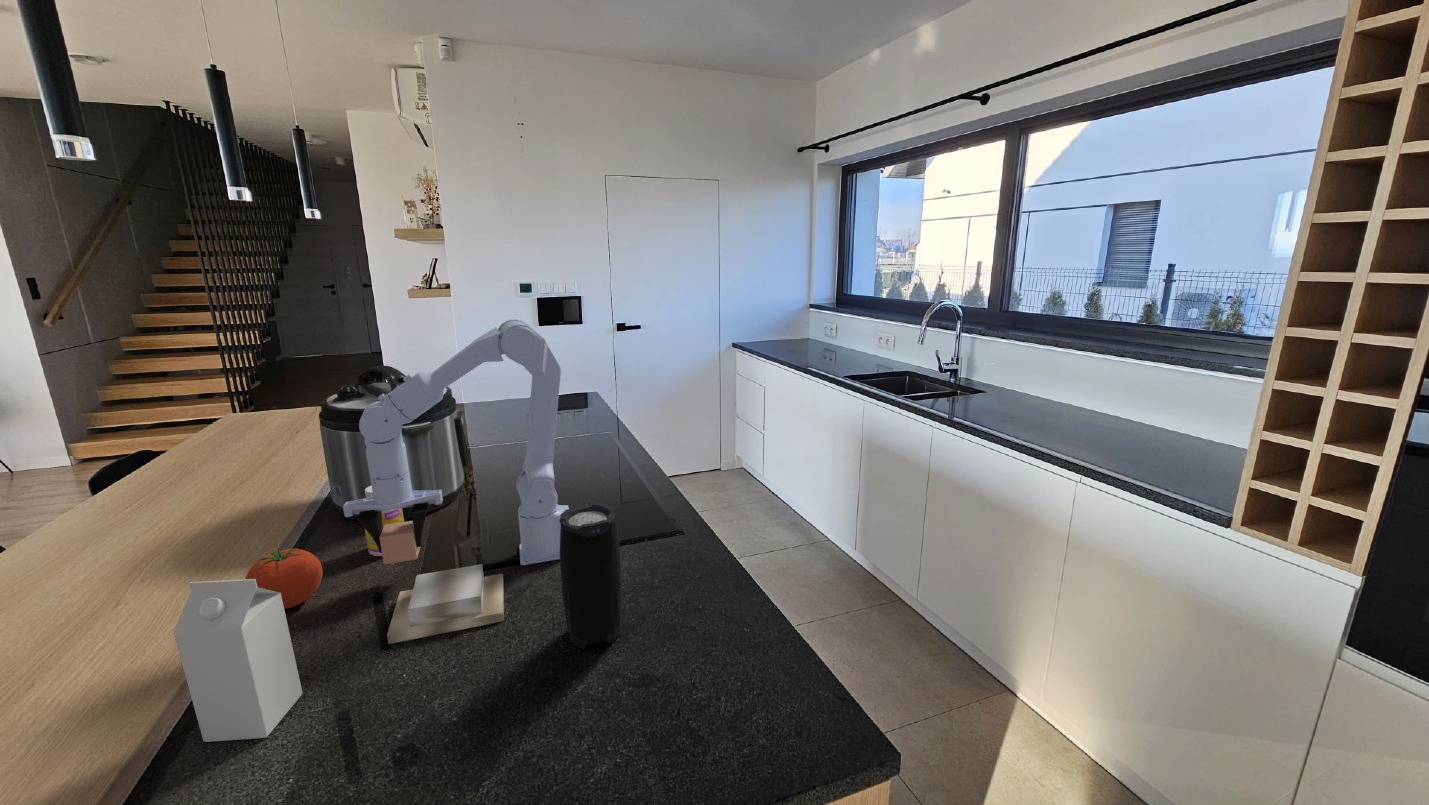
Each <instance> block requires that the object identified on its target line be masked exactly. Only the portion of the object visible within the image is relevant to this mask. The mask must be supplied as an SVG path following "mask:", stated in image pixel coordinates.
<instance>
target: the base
mask: <svg viewBox="0 0 1429 805" xmlns="http://www.w3.org/2000/svg"><path fill="white" fill-rule="evenodd" d="M504 595H505V594H504V573H499V574H492V575H487V576H484V568H483V563H481V564H475V565H469V566H464V567H459V568H458V567H457V568H452V569H451V568H450V569H445V570H438V571H434V572H426V573H422V574H421V573H420V574H417V575H416V576H415V582H414V585H413V589H407V590H401V591H399V594H398V597H397V600H396V604H395V607H394V610H393V614H392V617H391V621H390V624H389V627H388V631H387V634H386V638H387V643H388V645H390V644H396V643H401V642H407V641H413V640H416V639H420V638H421V639H422V638H426V637H431V636H436V635H441V634H445V633H450V632H451V633H452V632H457V631H461V630H466V629H470V628H471V629H472V628H476V627H481V626H486V625H491V624H495V623H496V624H497V623H501V622H504V620H505V611H504V610H505V605H504V604H505V600H504Z"/></svg>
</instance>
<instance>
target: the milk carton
mask: <svg viewBox="0 0 1429 805" xmlns="http://www.w3.org/2000/svg"><path fill="white" fill-rule="evenodd" d="M188 584H189V588H190V593H189V594H188V597H187V600H186V602H185V604H184V607H183V608H182V611H181V613H180V614H179V615H180V616H179V618H178V619H177V622H176V624H175V627H174V629H173V635H174V640H175V643H176V647H177V650H178V654H179V657H180V661H181V664H182V669H183V671H184V672H183V673H184V676H185V679H186V684H187V685H188V690H189V694H190V698H191V701H192V705H193V708H194V711H195V716H196V719H197V722H198V726H199V730H200V733H201V737H202V741H203V742H205V743H207V742H209V743H210V742H211V743H212V742H223V741H225V742H226V741H237V740H252V739H265V738H268V737H269V735H270V734H271V733H272V732H273V730H274V729H275V728H276V727H277V726H278V724H279V723H280V722H281V721H282V720H283V719H284V717H285V716H286V715H287V714H288V712H289V711H290V710H291V709H292V707H293V706H294V705H295V704H296V703H297V701H298V700H299V699H300V698H301V696H302V695H303V688H302V685H301V680H300V675H299V671H298V665H297V662H296V657H295V653H294V648H293V642H292V638H291V634H290V630H289V629H290V628H289V625H288V620H287V616H286V611H285V609H284V606H283V601H282V597H281V593H279V592H275V591H271V590H266V589H262V588H258V587H257V584H256V579H245V578H244V579H228V580H225V579H224V580H209V581H206V580H205V581H190V582H189V583H188Z"/></svg>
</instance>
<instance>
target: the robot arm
mask: <svg viewBox="0 0 1429 805" xmlns="http://www.w3.org/2000/svg"><path fill="white" fill-rule="evenodd" d="M502 355H504V356H505V357H507V358H508V359H509V360H511V361H513V362H515V363H517V364H518V365H521V366H523V368H524V369H526V371H527V372H529V374H530V375H531V376H532V377H531V387H530V389H531V390H530V400H529V412H528V425H527V436H526V438H527V439H526V448H525V450H526V451H525V458H524V460H523V463H522V471H521V473H520V475H519V476H518V478H517V479H516V484H515V488H516V492H517V493H518V495H519V498H520V501H521V503H520V505H519V507H518V508H517V514H518V526H519V536H520V544H519V546H518V548H519V562H520V565H521V566H528V565H534V564H539V563H545V562H549V561H550V562H551V561H556V560H560V529H561V523H560V515H561V514H562V513H563V512H564V511H565V510H567V509H570V508H569V505H568V504H567V505H564V504H563V505H561V504H558V502H559V497H558V492H557V491H556V488H555V472H554V462H553V460H554V453H555V442H556V439H555V438H556V431H557V420H558V419H557V418H558V407H559V396H560V388H561V384H560V383H561V377H562V376H561V374H562V373H561V372H562V371H561V370H562V369H561V366H560V364H559V363H558V361H557V359H556V357H555V355H554V353H553V352H552V350H551V348H550V346H549V344H548V343H547V340H546V339H545V338H544V337H543V336H542V335H541V334H540V333H538V332H537V330H536V329H534V328H533V327H531V326H530V325H529V324H528V323H526V322H525V321H523V320H521V319H515V318H513V319H507V320H506V321H504V322H503V323H502V324H500V326H498V327H494V328H491V329H490V330H488V331H487V332H485V333H483V334H482V335H480V336H479V337H477V338H476V339H474V340H473V341H472V342H471V343H469V344H468V345H467V346H465V347H464V348H463V349H462V350H460V351H459V352H458V353H456V354H454V356H452V357H451V358H449V360H447V361H446V362H444V363H443V364H442V365H440V366H439V367H437V368H436V369H435V370H434V371H433V372H422V371H421V372H417V373H415V374H414V375H412V374H411V373H409V374H406V375H405V376H406V377H404V379H403V380H404V381H405V382H404V383H403V384H401V385H400V386H398V387H397V388H395V389H394V390H393V391H391V392H390V393H388V394H387V395H385V394H382V395H380V396H379V397H378V400H379V402H378V401H376V402H373V403H371V404H370V405H368V406H367V407H366V409H365V410H364V412H363V414H362V416H361V418H360V422H359V428H360V432H361V433H362V435H363V436H364V437H365V445H366V448H367V449H366V456H367V462H368V468H369V474H370V479H371V485H372V491H373V496H372V497H368V498H364V499H360V500H355V501H349V502H346V503H345V504H344V506H343V509H344V515H345V516H344V515H343V516H344V517H345V518H348V517H350V516H353V515H354V514H360V519H359V520H358V522H359V525H360V526H361V527H362V528H363V529H364V530H365V529H366V531H367V532H368V533H369V534H370V535H371V537H372V538H373V540H374V541H375V543H376V545H377V547H378V549H379V552H380V553H382V550H381V544H380V538H379V537H380V535H381V533H382V530H383V524H382V513H381V511H383V510H390V509H398V508H405V507H412V506H413V509H412V511H411V517H410V518H411V519H412V520H411V521H413V525H414V529H415V539H416V545H417V547H420V548H421V547H422V545H423V542H424V541H423V534H424V526H425V525H424V524H425V521H426V517H427V515H428V513H429V512H428V509H429V505H430V504H434V503H435V505H438V504H442V500H443V498H442V491H441V490H429V491H412V486H411V480H410V473H409V467H408V461H407V454H406V447H405V444H404V442H403V438H402V431H401V428H402V425H403V424H406V423H410V422H412V421H413V420H414V419H416V418H417V417H419V416H420V415H421V414H423V413H424V412H426V411H427V410H428V409H430V408H431V407H433V406H434V405H435V404H437V403H438V402H440V401H441V400H442V399H443V391H444V388H446V387H449V386H450V385H451V384H453V383H455V382H456V381H457V380H459V379H461V378H462V377H464V376H466V375H467V374H468V373H470V372H472V371H473V370H475V369H476V368H477V367H479V366H481V365H482V364H484V363H491V362H492V363H493V362H497V363H498V362H504V358H503V356H502ZM427 512H428V513H427Z"/></svg>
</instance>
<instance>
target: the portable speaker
mask: <svg viewBox="0 0 1429 805" xmlns="http://www.w3.org/2000/svg"><path fill="white" fill-rule="evenodd" d="M615 514H616V513H615V509H614V508H613V507H612V506H611V505H608V504H606V503H597V502H596V503H594V504H591V505H585V506H581V507H576V508H575V507H574V508H569V509H567V510H565V511H564V512H563V513H562V514H561V515H560V523H561V529H560V559H559V567H560V576H561V578H560V579H561V580H560V581H561V591H562V602H563V606H564V607H563V608H564V615H565V620H566V628H567V631H568V636H569V642H570V643H571V644H573V646H575V647H576V648H579V649H583V650H585V648H586V647H587V646H590V645H595V644H599V643H600V644H601V643H607V644H614V643H615V642H616V641H617V639H618V638H620V636H621V633H622V621H623V579H622V578H623V577H622V563H621V562H622V561H621V549H620V547H621V544H620V538H619V531H618V526H617V524H618V523H617V520H616V515H615ZM614 641H615V642H614Z"/></svg>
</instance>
